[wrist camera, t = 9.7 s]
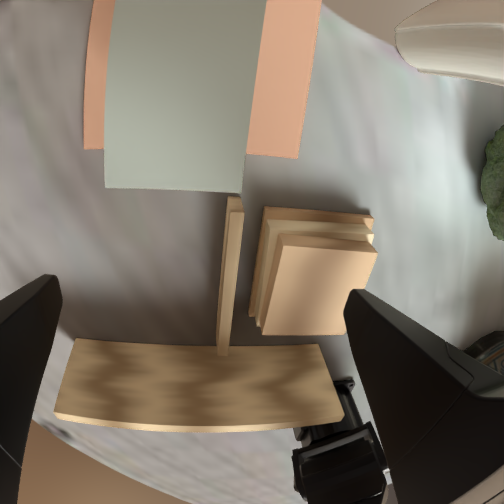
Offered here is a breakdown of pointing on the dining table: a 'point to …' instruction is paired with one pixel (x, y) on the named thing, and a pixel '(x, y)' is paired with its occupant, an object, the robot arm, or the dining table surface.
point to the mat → (266, 84)
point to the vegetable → (494, 183)
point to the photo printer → (456, 40)
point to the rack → (200, 375)
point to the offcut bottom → (298, 215)
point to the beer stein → (489, 351)
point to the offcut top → (313, 284)
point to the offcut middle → (306, 229)
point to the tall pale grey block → (180, 93)
